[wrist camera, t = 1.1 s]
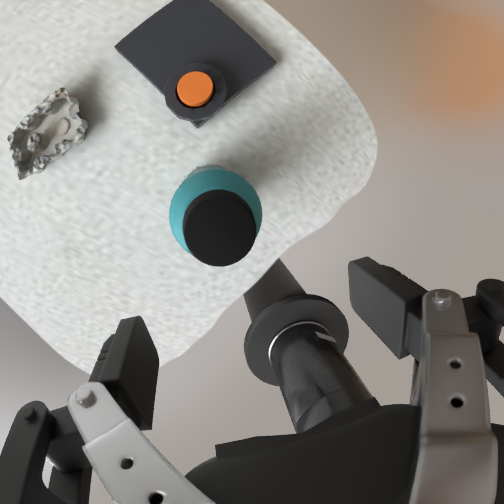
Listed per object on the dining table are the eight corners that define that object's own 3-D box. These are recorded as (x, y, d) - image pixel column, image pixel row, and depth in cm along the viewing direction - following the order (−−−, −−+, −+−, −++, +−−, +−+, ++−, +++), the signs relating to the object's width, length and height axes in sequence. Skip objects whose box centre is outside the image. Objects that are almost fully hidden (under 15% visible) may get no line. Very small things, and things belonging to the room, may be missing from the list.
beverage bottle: (199, 153, 32) (193, 143, 13) (248, 181, 34) (305, 209, 15) (171, 202, 33) (134, 256, 15) (220, 229, 35) (242, 309, 17)
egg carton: (78, 89, 27) (65, 82, 23) (95, 140, 30) (83, 138, 26) (16, 132, 27) (-1, 131, 23) (31, 181, 29) (15, 184, 25)
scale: (274, 68, 30) (281, 59, 27) (193, 134, 32) (192, 131, 28) (193, -6, 25) (192, -19, 22) (113, 55, 27) (105, 46, 23)
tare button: (219, 91, 28) (220, 87, 26) (193, 113, 28) (193, 110, 26) (197, 69, 26) (197, 64, 25) (171, 91, 27) (169, 87, 25)
